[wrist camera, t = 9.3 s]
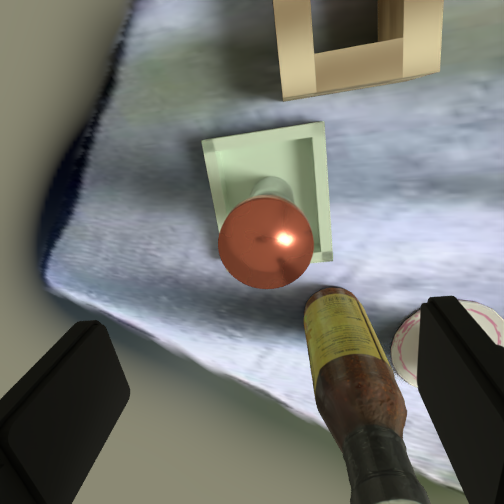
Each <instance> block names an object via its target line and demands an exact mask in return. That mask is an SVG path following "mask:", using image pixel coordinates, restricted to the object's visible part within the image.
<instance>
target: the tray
mask: <svg viewBox="0 0 504 504" xmlns="http://www.w3.org/2000/svg"><path fill="white" fill-rule="evenodd" d="M201 142H202V147H203V152H204V158H205V163H206V168H207V173H208V178H209V183H210V188H211V193H212V199H213V204H214V209H215V214H216V219H217V224H218V229H219V233H220V230H221V227H222V225H223V223H224V221H225V219H226V217H227V216H228V214H229V213H230V212H231V210H232V209H233V208H234V207H235V206H237V205H238V204H239V203H241V202H242V201H244V200H246V199H248V198H249V195H250V193H251V190H252V188H253V186H254V185H255V184H256V183H257V182H258V181H259V180H260V179H262V178H265V177H269V176H275V177H279V178H281V179H283V180H285V181H286V182H287V183H288V184H289V185H290V187H291V189H292V191H293V196H294V204H295V205H296V206H297V207H299V208H300V209H301V211H302V212H303V213H304V214H305V216H306V217H307V219H308V221H309V223H310V227H311V230H312V234H313V240H314V251H313V256H312V259H311V262H310V263H318V262H328V261H333V252H332V236H331V220H330V205H329V189H328V173H327V157H326V142H325V126H324V122H323V121H319V122H313V123H307V124H300V125H294V126H287V127H281V128H274V129H268V130H262V131H255V132H249V133H242V134H236V135H230V136H223V137H217V138H210V139H206V140H202V141H201ZM226 270H227V269H226ZM227 271H228V270H227Z"/></svg>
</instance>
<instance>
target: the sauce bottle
mask: <svg viewBox="0 0 504 504" xmlns="http://www.w3.org/2000/svg"><path fill="white" fill-rule="evenodd" d="M304 328H305V334H306V340H307V348H308V355H309V361H310V368H311V374H312V380H313V388H314V394H315V400H316V405H317V408H318V411H319V413H320V415H321V417H322V418H323V420H324V422H325V424H326V425H327V427H328V429H329V431H330V432H331V434H332V436H333V438H334V439H335V441H336V443H337V445H338V446H339V448H340V450H341V451H342V453H343V458H344V460H345V462H346V466H347V472H348V476H349V481H350V485H351V499H350V504H431V503H430V501H429V498H428V495H427V492H426V491H425V489H424V487H423V486H422V485H421V484H420V483H419V481H418V480H417V478H416V476H415V473H414V470H413V467H412V465H411V463H410V460H409V458H408V455H407V452H406V446H405V443H404V441H403V428H404V426H405V421H406V417H407V410H406V407H405V401H404V398H403V396H402V394H401V391H400V389H399V387H398V385H397V383H396V381H395V377H394V373H393V370H392V368H391V366H390V364H389V362H388V360H387V357H386V355H385V353H384V351H383V349H382V347H381V344H380V342H379V340H378V338H377V336H376V334H375V332H374V329H373V327H372V325H371V323H370V321H369V319H368V316H367V314H366V312H365V310H364V308H363V306H362V304H361V303H360V302H359V301H358V300H357V298H356V297H355V296H354V295H353V294H352V293H351V292H349V291H348V290H345V289H342V288H333V287H331V288H325V289H322V290H320V291H318V292H316V293H314V295H313V296H311V297H310V298H309V300H308V301H307V303H306V306H305V312H304Z"/></svg>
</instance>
